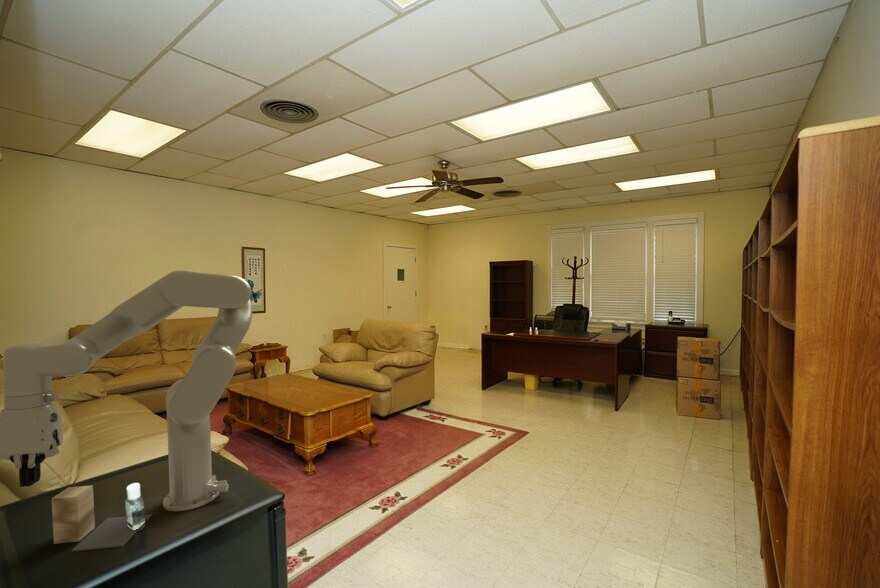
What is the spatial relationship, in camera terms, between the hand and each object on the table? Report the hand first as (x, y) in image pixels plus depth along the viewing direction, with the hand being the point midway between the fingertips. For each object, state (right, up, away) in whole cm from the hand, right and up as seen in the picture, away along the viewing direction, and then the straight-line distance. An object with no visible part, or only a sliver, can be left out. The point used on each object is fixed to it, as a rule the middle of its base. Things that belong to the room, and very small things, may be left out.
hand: (30, 483), depth 91 cm
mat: (+16, -13, +3) cm, 21 cm away
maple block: (+8, -13, +2) cm, 15 cm away
